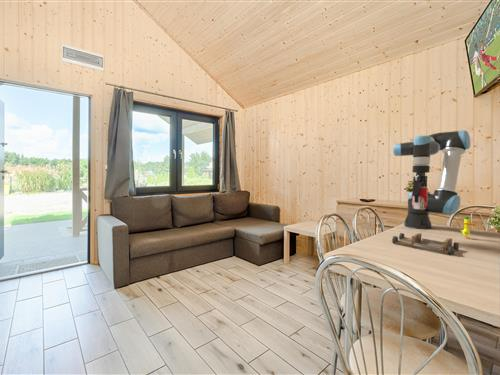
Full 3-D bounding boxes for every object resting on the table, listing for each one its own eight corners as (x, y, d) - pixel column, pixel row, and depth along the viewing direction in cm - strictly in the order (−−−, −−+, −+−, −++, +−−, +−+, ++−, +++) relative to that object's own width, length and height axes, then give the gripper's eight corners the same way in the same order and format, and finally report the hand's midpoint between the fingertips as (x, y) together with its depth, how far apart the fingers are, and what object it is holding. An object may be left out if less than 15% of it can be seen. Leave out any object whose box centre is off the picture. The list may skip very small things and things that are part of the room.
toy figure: (475, 238, 139) (477, 217, 138) (475, 240, 136) (477, 218, 135) (459, 236, 143) (461, 215, 143) (459, 238, 141) (460, 216, 140)
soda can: (426, 210, 133) (427, 187, 132) (410, 209, 138) (411, 186, 137) (427, 208, 139) (428, 186, 138) (412, 207, 143) (413, 186, 142)
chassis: (401, 238, 140) (402, 229, 140) (458, 249, 122) (459, 238, 121) (391, 243, 132) (392, 233, 132) (451, 255, 113) (452, 244, 113)
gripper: (419, 165, 146) (418, 205, 147) (406, 165, 133) (404, 208, 135) (435, 165, 140) (433, 206, 141) (422, 164, 127) (420, 210, 129)
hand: (419, 207), depth 138 cm, fingers closed on soda can, 7 cm apart
